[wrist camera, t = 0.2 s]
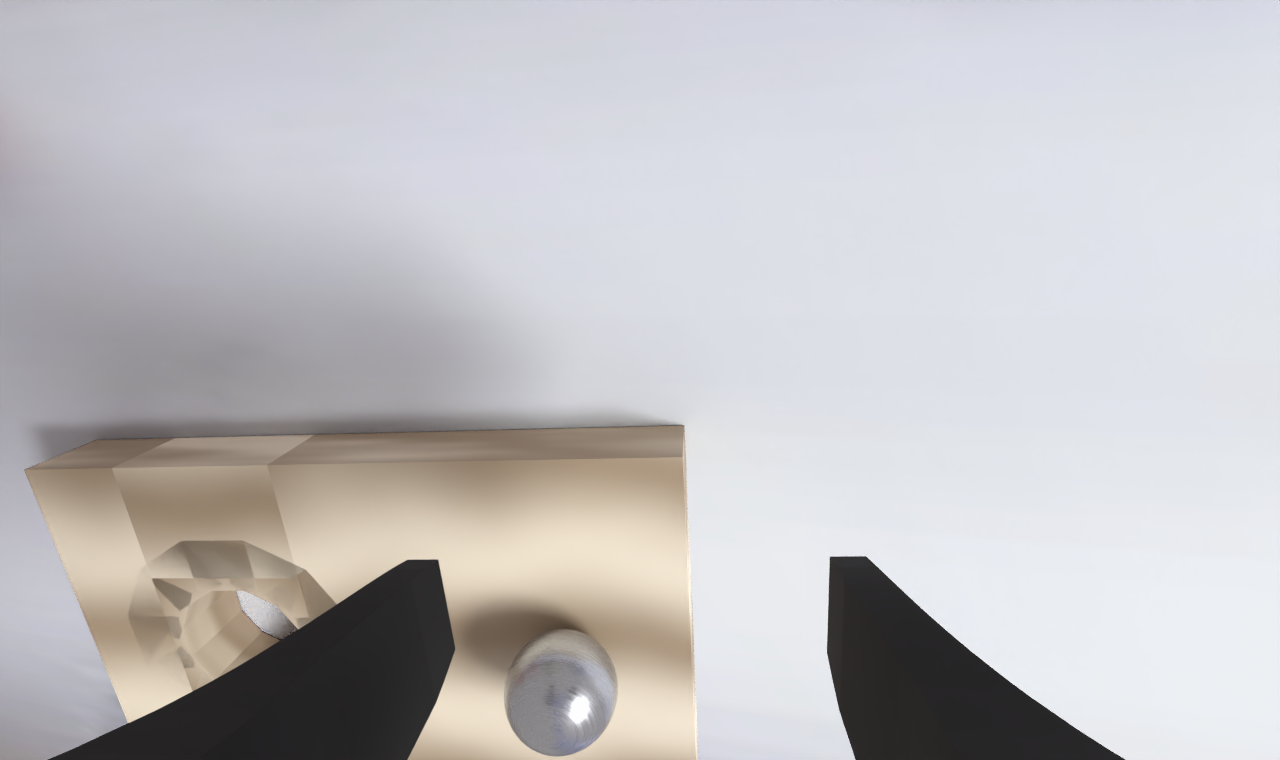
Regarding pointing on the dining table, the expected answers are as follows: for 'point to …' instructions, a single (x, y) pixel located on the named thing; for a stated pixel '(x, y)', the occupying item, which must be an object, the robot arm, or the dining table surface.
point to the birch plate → (392, 560)
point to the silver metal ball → (560, 692)
